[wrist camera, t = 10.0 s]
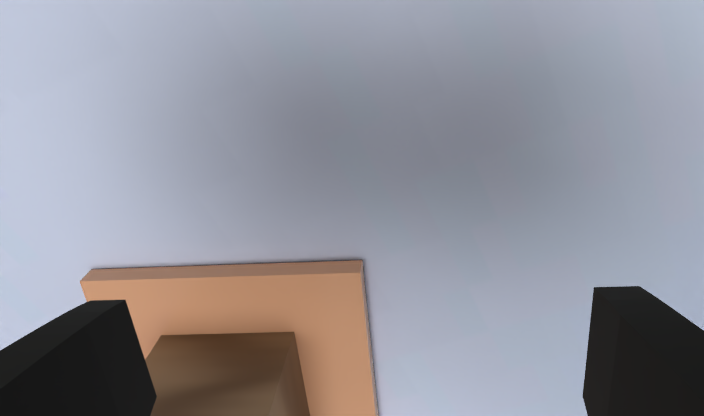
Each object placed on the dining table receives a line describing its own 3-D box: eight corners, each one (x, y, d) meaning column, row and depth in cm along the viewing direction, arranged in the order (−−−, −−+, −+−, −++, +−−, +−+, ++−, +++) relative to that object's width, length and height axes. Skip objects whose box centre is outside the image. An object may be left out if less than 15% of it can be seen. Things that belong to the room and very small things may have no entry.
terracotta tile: (362, 260, 19) (360, 272, 18) (383, 465, 23) (383, 482, 22) (91, 269, 20) (79, 281, 19) (158, 462, 24) (150, 478, 24)
